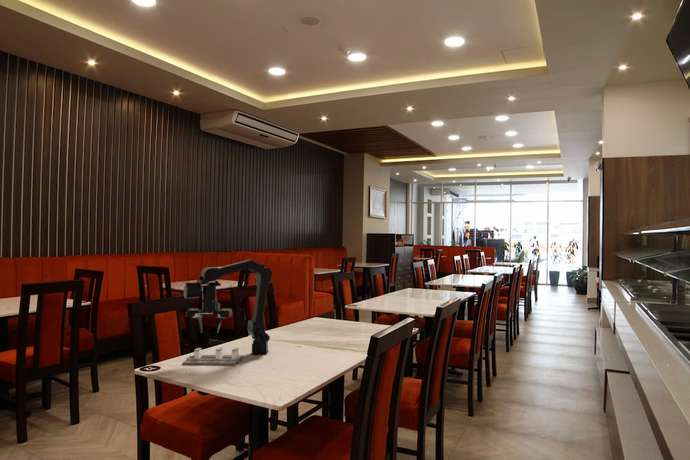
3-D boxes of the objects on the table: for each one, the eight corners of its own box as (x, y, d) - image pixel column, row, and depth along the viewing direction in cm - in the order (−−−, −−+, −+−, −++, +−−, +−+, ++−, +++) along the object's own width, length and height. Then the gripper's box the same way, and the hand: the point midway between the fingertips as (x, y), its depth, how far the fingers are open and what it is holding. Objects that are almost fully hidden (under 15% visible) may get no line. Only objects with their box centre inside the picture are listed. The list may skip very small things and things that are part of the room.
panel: (243, 357, 204) (243, 353, 204) (235, 365, 191) (235, 361, 191) (193, 356, 205) (193, 352, 205) (182, 364, 192) (182, 360, 192)
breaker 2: (222, 357, 200) (222, 348, 200) (220, 359, 196) (220, 350, 196) (217, 357, 200) (217, 348, 200) (215, 359, 196) (215, 350, 197)
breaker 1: (201, 357, 200) (201, 348, 200) (198, 359, 197) (198, 349, 197) (197, 357, 200) (197, 347, 200) (194, 359, 197) (194, 349, 197)
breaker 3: (238, 357, 199) (238, 348, 199) (236, 359, 196) (236, 350, 196) (233, 357, 199) (233, 348, 199) (231, 359, 196) (231, 350, 196)
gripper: (235, 294, 206) (235, 329, 206) (195, 294, 207) (195, 328, 207) (228, 297, 195) (228, 334, 195) (185, 297, 196) (185, 334, 196)
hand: (209, 332), depth 198 cm, fingers open, 7 cm apart
